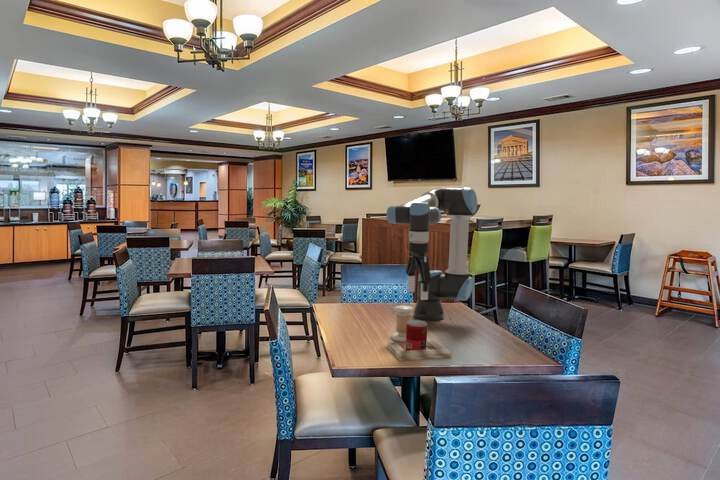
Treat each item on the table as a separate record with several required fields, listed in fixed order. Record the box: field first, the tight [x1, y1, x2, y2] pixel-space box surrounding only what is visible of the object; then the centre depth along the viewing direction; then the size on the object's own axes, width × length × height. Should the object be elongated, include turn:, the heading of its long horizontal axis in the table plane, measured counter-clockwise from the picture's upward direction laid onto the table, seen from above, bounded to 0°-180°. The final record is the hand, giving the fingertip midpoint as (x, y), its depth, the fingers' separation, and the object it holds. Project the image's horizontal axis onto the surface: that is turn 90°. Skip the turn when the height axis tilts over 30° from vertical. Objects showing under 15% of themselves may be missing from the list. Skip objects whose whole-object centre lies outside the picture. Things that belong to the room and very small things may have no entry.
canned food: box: [405, 319, 428, 351], centre depth 173 cm, size 8×8×11 cm
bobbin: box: [390, 305, 414, 343], centre depth 188 cm, size 10×10×13 cm
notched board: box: [387, 339, 452, 362], centre depth 171 cm, size 20×15×2 cm
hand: (417, 295), depth 176 cm, fingers open, 13 cm apart
